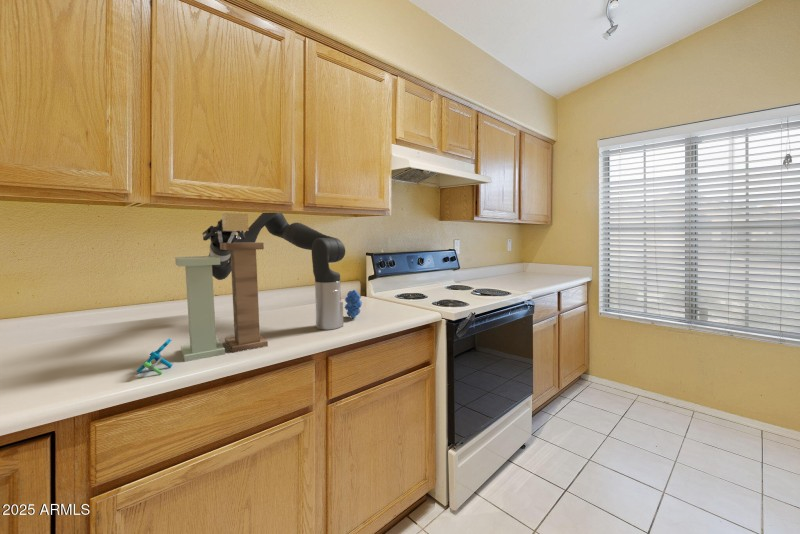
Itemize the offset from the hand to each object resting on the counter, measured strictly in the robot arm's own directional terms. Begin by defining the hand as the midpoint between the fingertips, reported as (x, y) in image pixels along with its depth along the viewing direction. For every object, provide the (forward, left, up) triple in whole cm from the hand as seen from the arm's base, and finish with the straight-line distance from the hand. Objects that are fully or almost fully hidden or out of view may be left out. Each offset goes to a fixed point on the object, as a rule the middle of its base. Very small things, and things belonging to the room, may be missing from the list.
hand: (228, 222), depth 113 cm
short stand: (+10, +9, -39) cm, 41 cm away
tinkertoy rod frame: (+22, +18, -39) cm, 48 cm away
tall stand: (-2, +9, -39) cm, 40 cm away
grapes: (-47, -2, -39) cm, 61 cm away
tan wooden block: (0, +4, -3) cm, 5 cm away
